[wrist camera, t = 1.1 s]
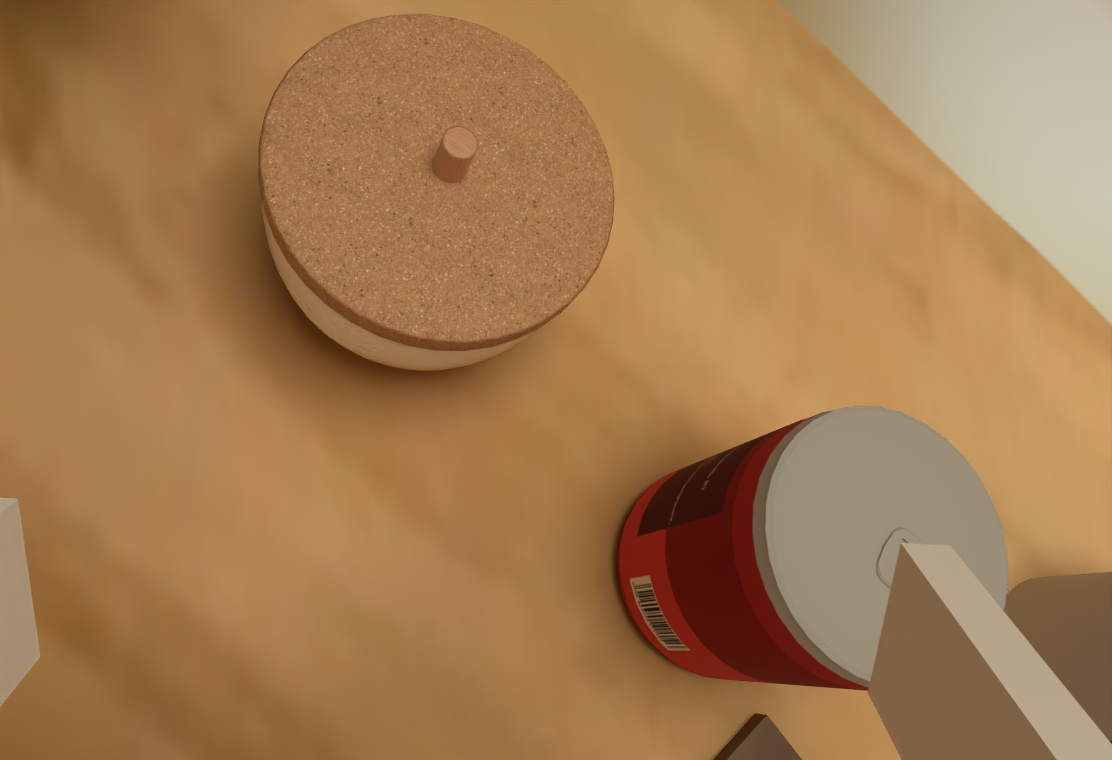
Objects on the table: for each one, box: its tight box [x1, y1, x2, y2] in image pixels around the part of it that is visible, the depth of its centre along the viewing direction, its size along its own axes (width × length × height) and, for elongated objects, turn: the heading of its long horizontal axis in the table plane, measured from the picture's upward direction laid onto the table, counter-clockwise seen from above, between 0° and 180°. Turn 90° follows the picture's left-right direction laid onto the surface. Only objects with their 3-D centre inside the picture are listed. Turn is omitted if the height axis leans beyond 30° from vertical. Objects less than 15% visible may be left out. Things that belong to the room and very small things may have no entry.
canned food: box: [617, 406, 1008, 690], centre depth 31 cm, size 8×8×11 cm
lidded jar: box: [259, 14, 614, 371], centre depth 31 cm, size 11×11×9 cm
